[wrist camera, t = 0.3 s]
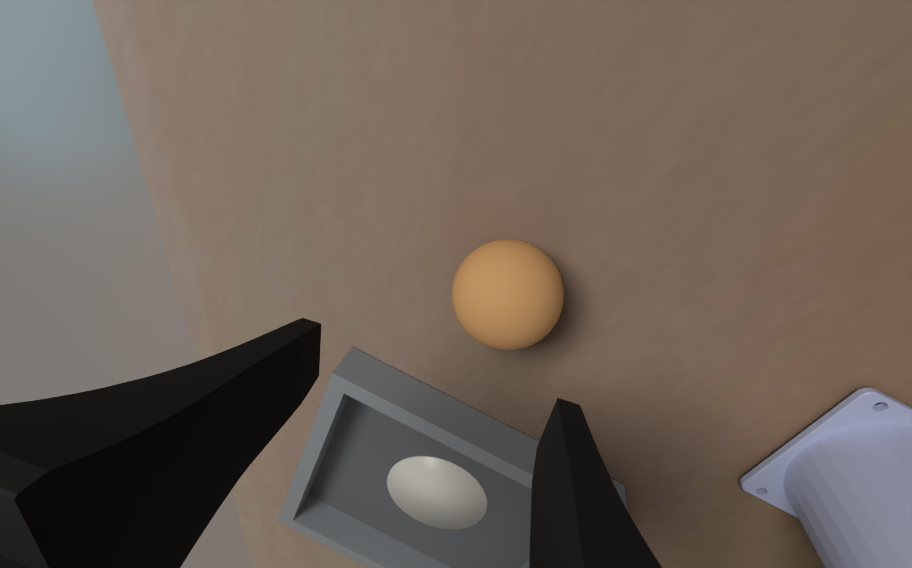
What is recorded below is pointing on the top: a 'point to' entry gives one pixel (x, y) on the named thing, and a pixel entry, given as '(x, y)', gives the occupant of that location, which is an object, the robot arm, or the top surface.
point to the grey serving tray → (412, 476)
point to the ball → (508, 294)
